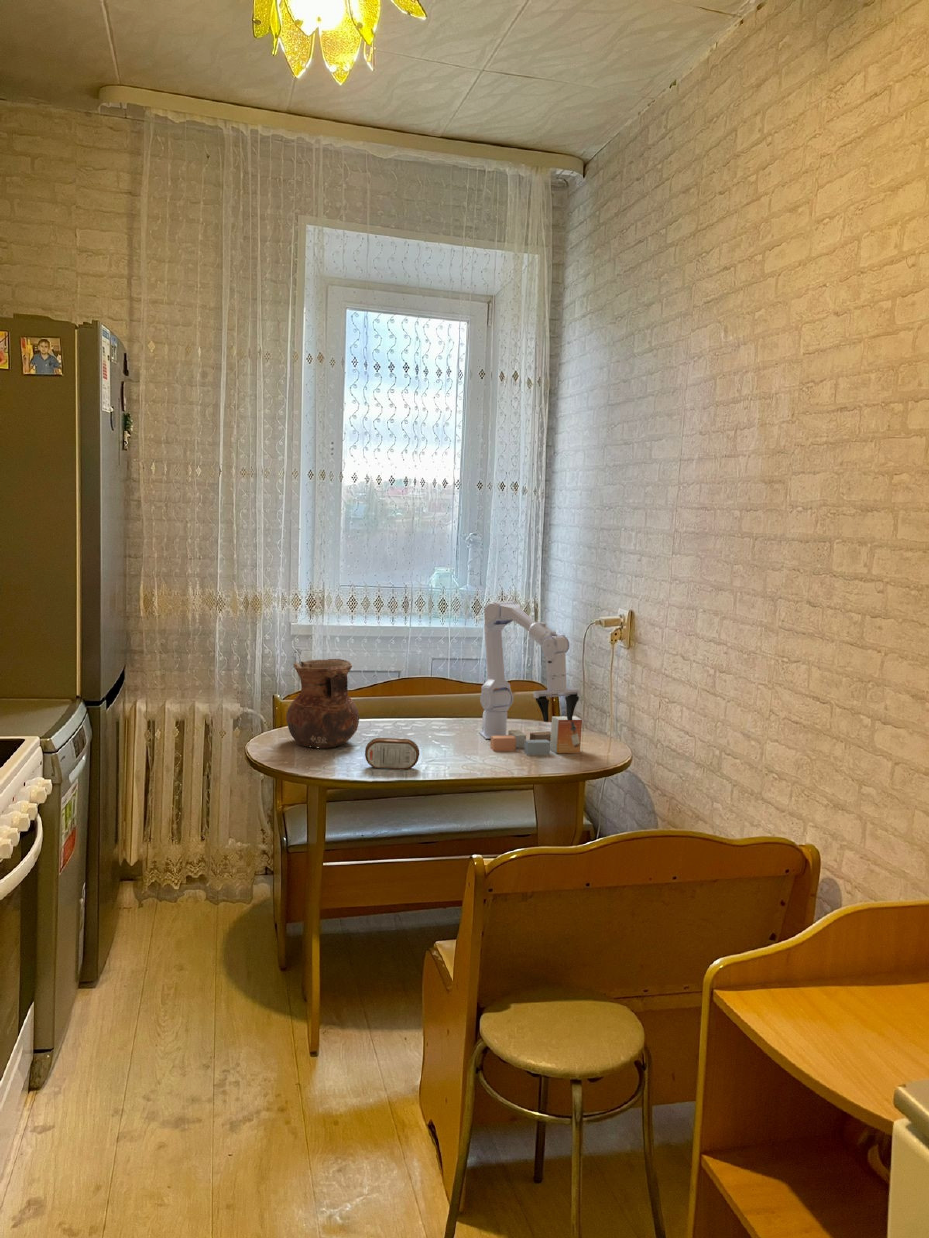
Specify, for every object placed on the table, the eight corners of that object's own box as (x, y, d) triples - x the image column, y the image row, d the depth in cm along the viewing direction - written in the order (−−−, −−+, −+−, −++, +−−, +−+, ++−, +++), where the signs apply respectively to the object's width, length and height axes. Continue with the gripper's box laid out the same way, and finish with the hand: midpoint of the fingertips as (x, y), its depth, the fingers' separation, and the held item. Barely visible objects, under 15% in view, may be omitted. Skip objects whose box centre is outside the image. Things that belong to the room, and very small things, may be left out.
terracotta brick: (490, 748, 282) (490, 735, 282) (512, 748, 284) (512, 735, 283) (493, 751, 279) (493, 738, 278) (515, 750, 280) (516, 738, 280)
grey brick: (514, 748, 284) (515, 735, 283) (507, 742, 291) (508, 730, 290) (525, 747, 285) (526, 735, 284) (518, 742, 291) (519, 730, 291)
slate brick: (524, 752, 279) (524, 739, 278) (546, 752, 280) (546, 739, 280) (527, 755, 275) (528, 742, 275) (549, 755, 277) (550, 742, 276)
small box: (556, 753, 278) (557, 719, 277) (549, 749, 284) (551, 715, 283) (580, 753, 281) (582, 719, 279) (573, 748, 286) (575, 715, 285)
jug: (271, 744, 275) (272, 662, 272) (313, 731, 293) (315, 654, 290) (331, 756, 264) (334, 670, 262) (371, 742, 283) (374, 662, 280)
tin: (418, 767, 256) (419, 738, 255) (418, 770, 253) (419, 741, 252) (364, 766, 256) (365, 736, 255) (363, 769, 252) (364, 739, 252)
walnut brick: (529, 745, 289) (530, 732, 288) (548, 743, 292) (549, 731, 291) (534, 747, 286) (535, 735, 285) (554, 746, 288) (555, 733, 288)
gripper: (538, 677, 270) (540, 723, 270) (584, 675, 274) (585, 720, 274) (530, 676, 276) (531, 721, 277) (574, 673, 281) (576, 717, 281)
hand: (557, 720), depth 276 cm, fingers open, 7 cm apart
